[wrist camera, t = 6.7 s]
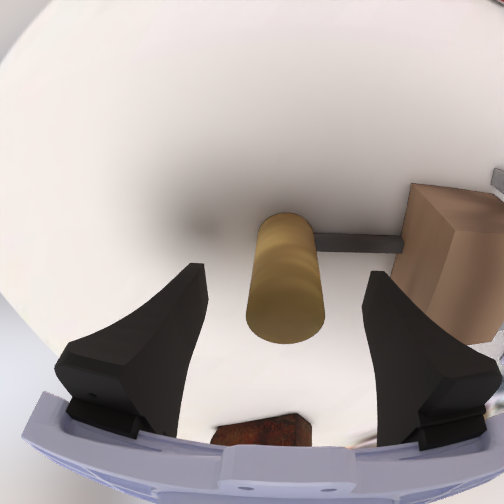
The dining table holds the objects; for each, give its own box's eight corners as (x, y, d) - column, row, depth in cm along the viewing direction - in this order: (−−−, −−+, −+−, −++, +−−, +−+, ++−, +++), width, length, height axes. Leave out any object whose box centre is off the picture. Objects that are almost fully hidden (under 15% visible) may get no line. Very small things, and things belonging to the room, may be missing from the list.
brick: (295, 409, 27) (294, 451, 23) (312, 423, 28) (312, 461, 24) (212, 424, 31) (205, 459, 27) (233, 437, 32) (227, 470, 28)
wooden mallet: (493, 194, 13) (553, 249, 8) (461, 288, 17) (497, 354, 12) (256, 175, 15) (241, 237, 10) (258, 287, 18) (249, 369, 13)
